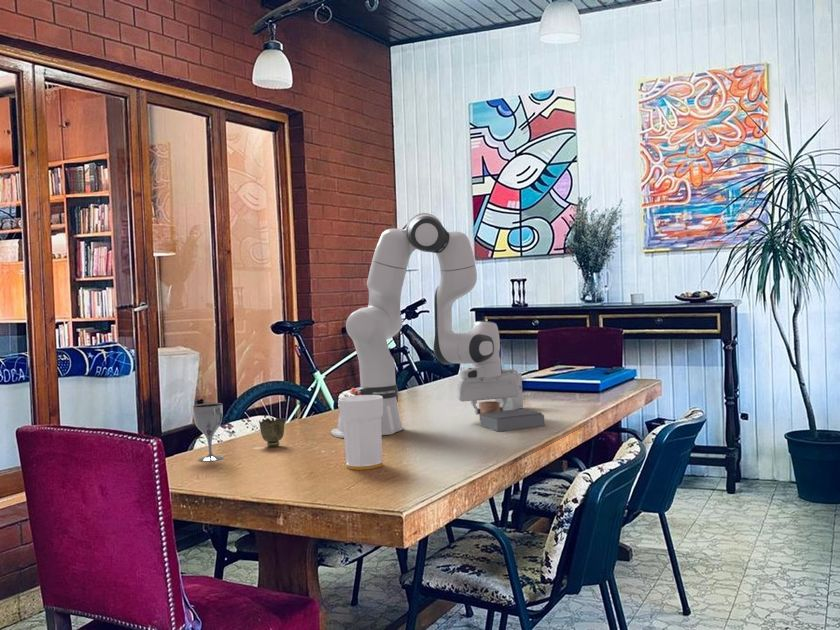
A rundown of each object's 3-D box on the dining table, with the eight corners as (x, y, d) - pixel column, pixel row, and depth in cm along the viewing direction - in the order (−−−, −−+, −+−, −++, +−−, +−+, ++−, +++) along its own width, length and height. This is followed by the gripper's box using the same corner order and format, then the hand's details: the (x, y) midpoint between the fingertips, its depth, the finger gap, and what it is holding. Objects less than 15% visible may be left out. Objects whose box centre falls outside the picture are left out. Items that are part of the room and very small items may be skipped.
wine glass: (200, 456, 242) (197, 403, 242) (228, 455, 242) (225, 402, 241) (192, 462, 234) (188, 407, 234) (221, 461, 234) (217, 406, 233)
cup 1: (278, 449, 247) (276, 421, 247) (255, 448, 250) (254, 421, 250) (290, 444, 254) (289, 417, 254) (268, 443, 257) (267, 417, 257)
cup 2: (391, 467, 214) (387, 398, 214) (347, 472, 211) (343, 402, 210) (380, 459, 225) (377, 393, 225) (338, 464, 222) (334, 397, 221)
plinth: (497, 431, 258) (496, 418, 258) (480, 425, 269) (479, 413, 269) (544, 425, 263) (543, 412, 263) (526, 420, 275) (525, 408, 275)
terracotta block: (486, 422, 276) (485, 403, 276) (479, 420, 280) (478, 402, 280) (500, 420, 278) (499, 402, 277) (493, 418, 282) (492, 400, 282)
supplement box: (512, 411, 296) (511, 374, 296) (494, 410, 301) (492, 374, 300) (523, 407, 302) (522, 372, 302) (505, 406, 307) (504, 371, 306)
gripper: (515, 367, 283) (517, 409, 284) (455, 372, 280) (457, 414, 280) (521, 369, 277) (523, 412, 278) (459, 373, 273) (461, 417, 274)
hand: (489, 413), depth 279 cm, fingers open, 6 cm apart
